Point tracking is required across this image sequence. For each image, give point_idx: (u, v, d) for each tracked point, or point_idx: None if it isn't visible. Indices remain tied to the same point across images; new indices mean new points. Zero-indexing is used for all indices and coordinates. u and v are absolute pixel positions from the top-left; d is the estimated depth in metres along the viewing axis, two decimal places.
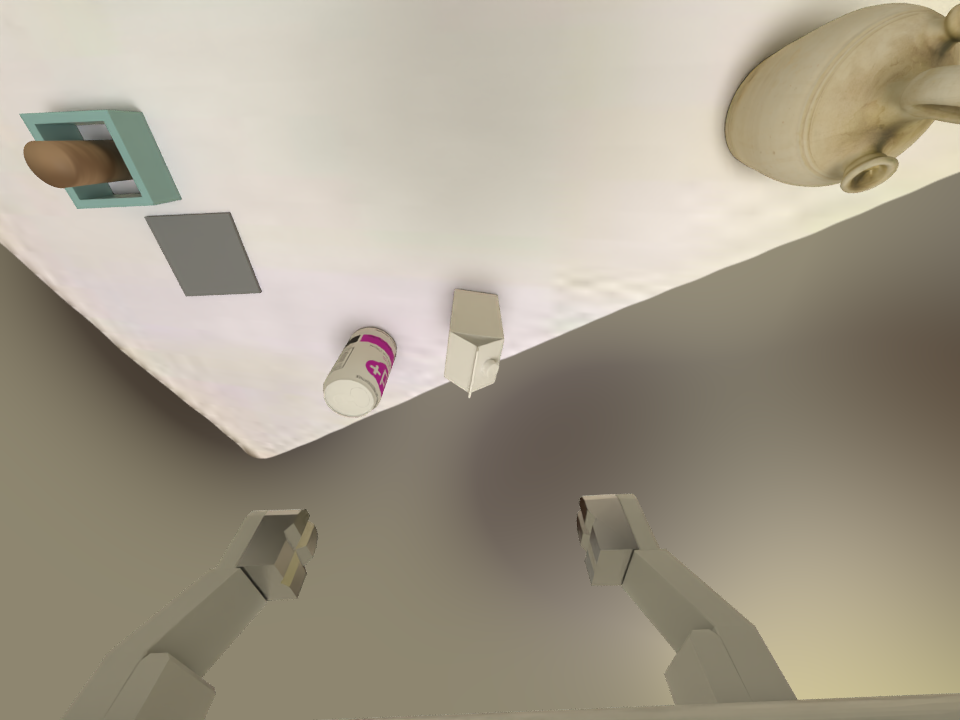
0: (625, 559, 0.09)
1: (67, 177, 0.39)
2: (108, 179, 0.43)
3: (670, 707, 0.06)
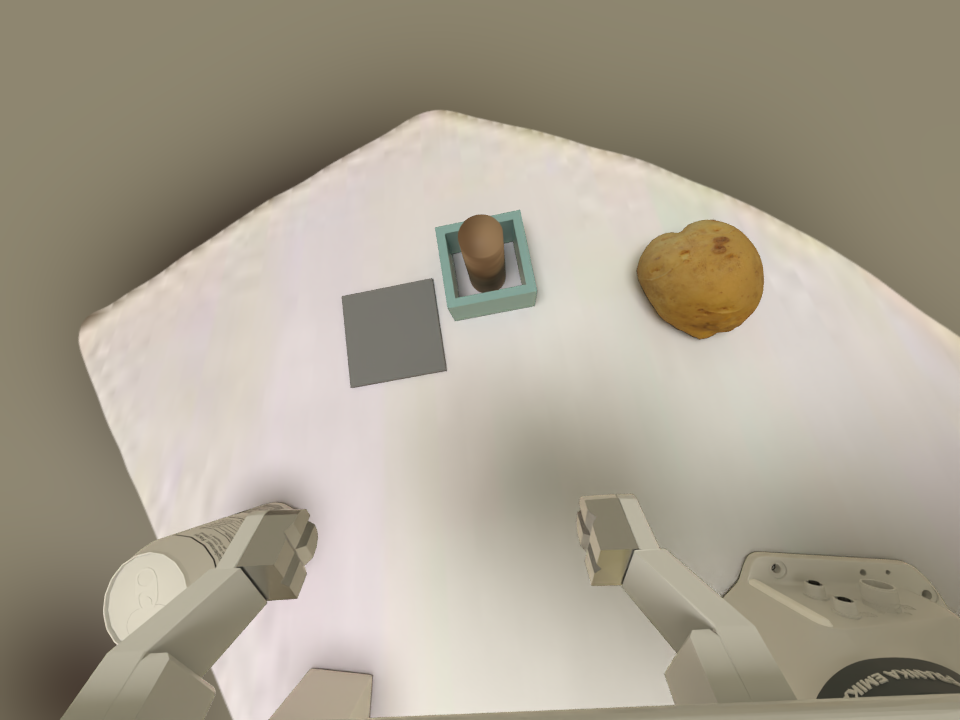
0: (625, 559, 0.09)
1: (469, 248, 0.34)
2: (469, 270, 0.39)
3: (670, 707, 0.06)
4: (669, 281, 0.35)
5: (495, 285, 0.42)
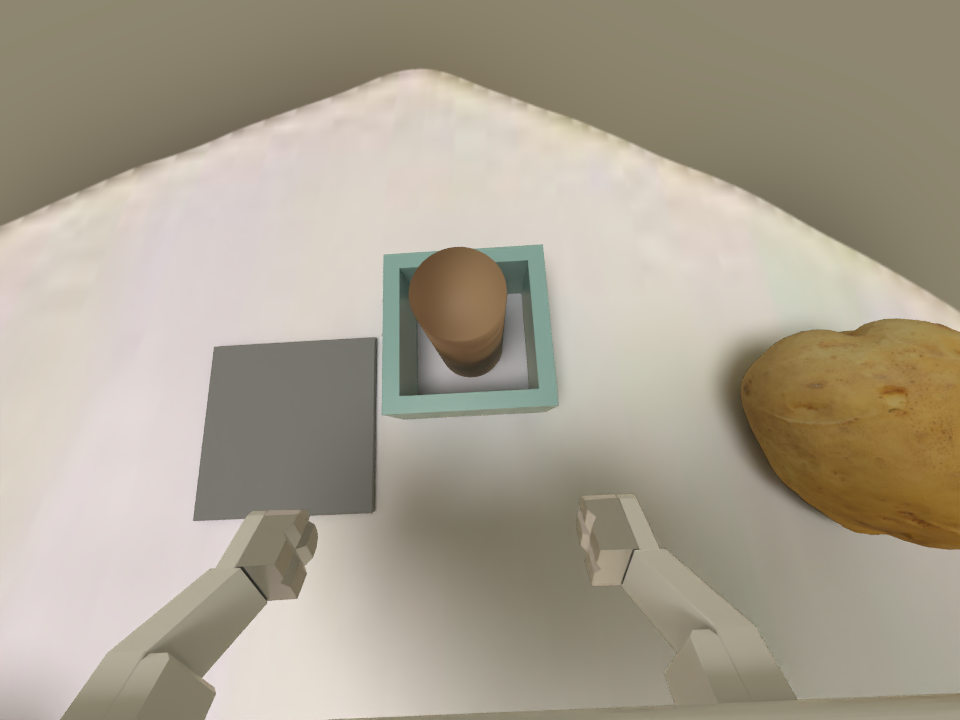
0: (625, 559, 0.09)
1: (431, 317, 0.16)
2: (434, 346, 0.20)
3: (670, 707, 0.06)
4: (842, 441, 0.16)
5: (481, 370, 0.23)
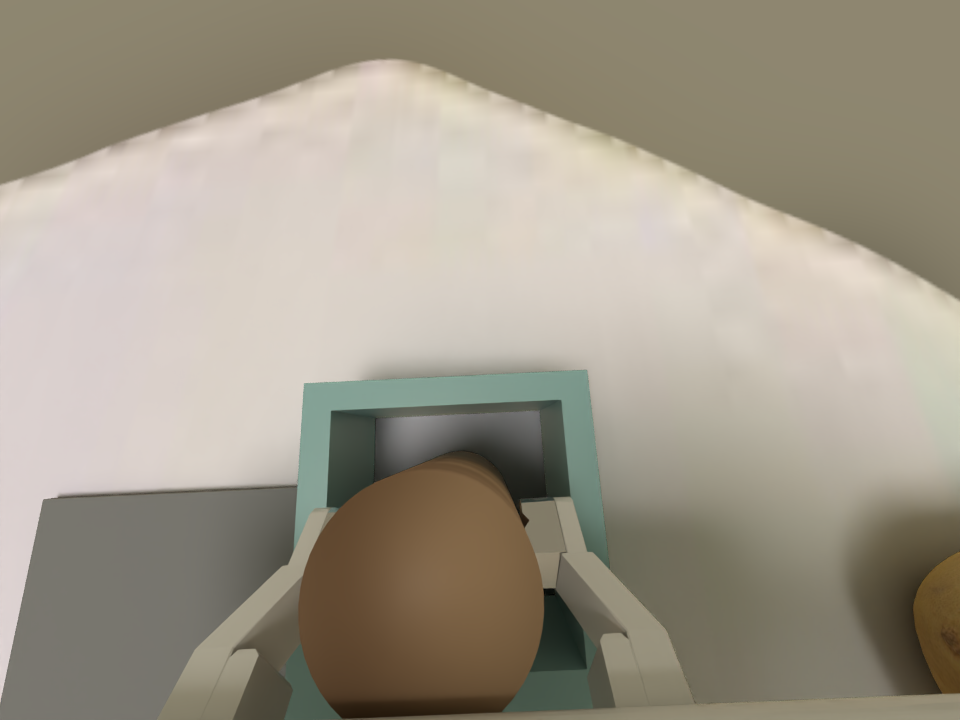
0: (554, 562, 0.09)
1: (351, 677, 0.06)
2: None
3: (670, 707, 0.06)
4: None
5: None
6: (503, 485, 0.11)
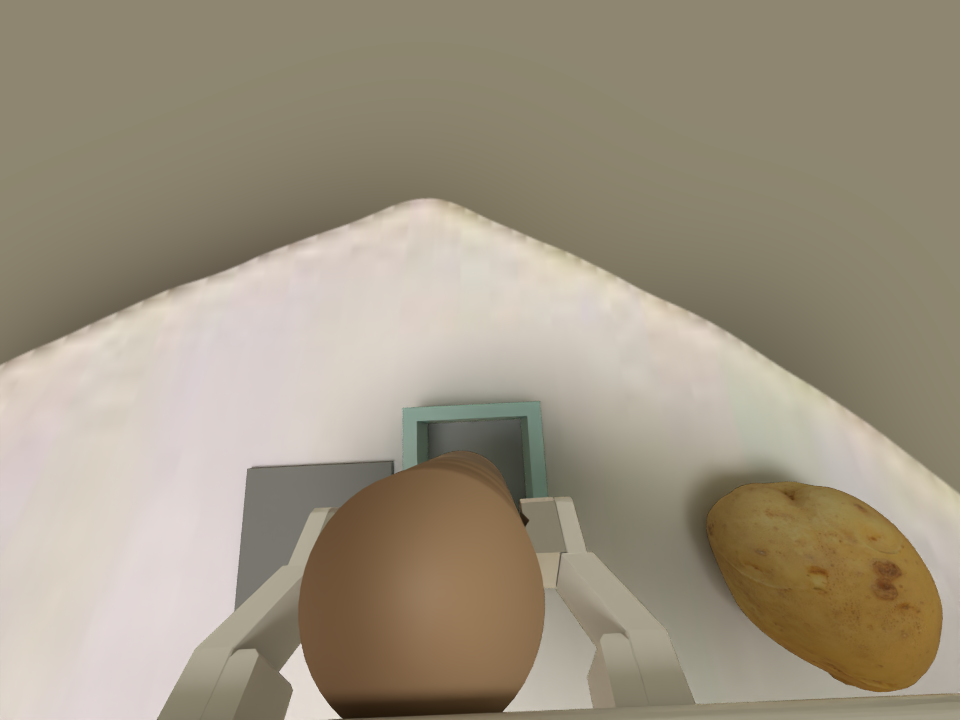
0: (554, 562, 0.09)
1: (351, 677, 0.06)
2: None
3: (670, 707, 0.06)
4: (780, 603, 0.20)
5: None
6: (503, 484, 0.11)
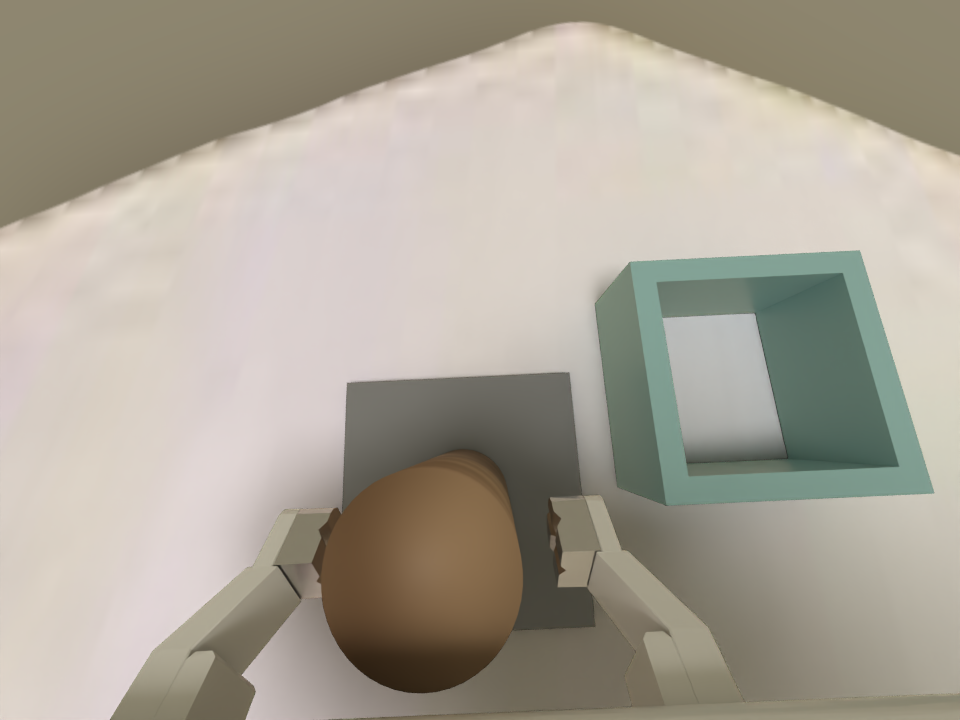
0: (588, 561, 0.09)
1: (364, 636, 0.08)
2: None
3: (670, 707, 0.06)
4: None
5: None
6: (498, 480, 0.12)
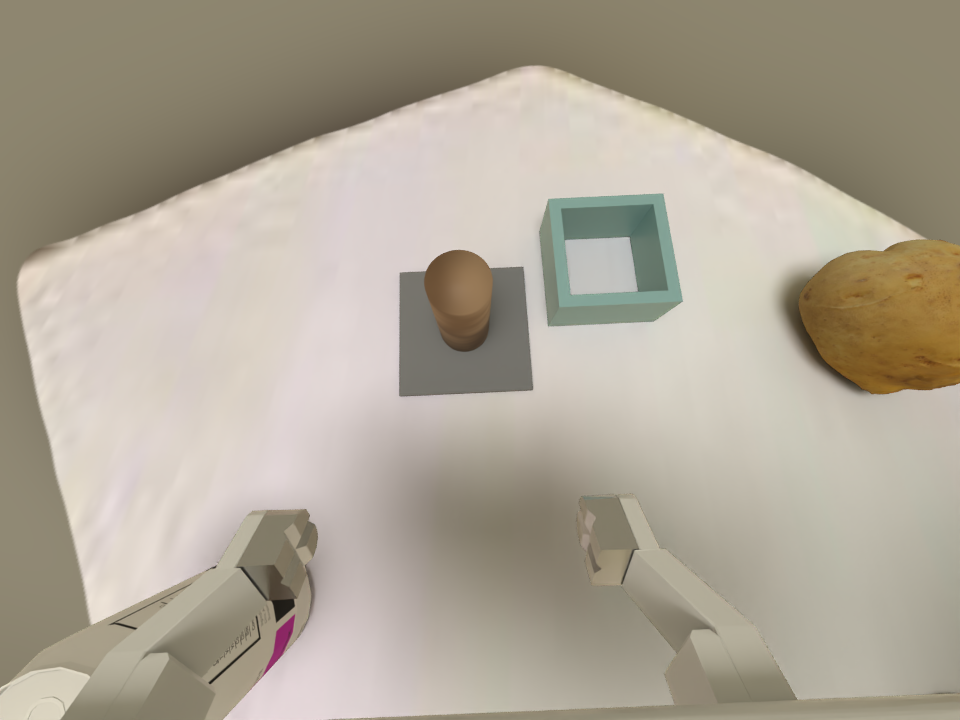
0: (625, 559, 0.09)
1: (439, 298, 0.23)
2: (438, 323, 0.27)
3: (670, 707, 0.06)
4: (880, 313, 0.25)
5: (472, 345, 0.30)
6: None
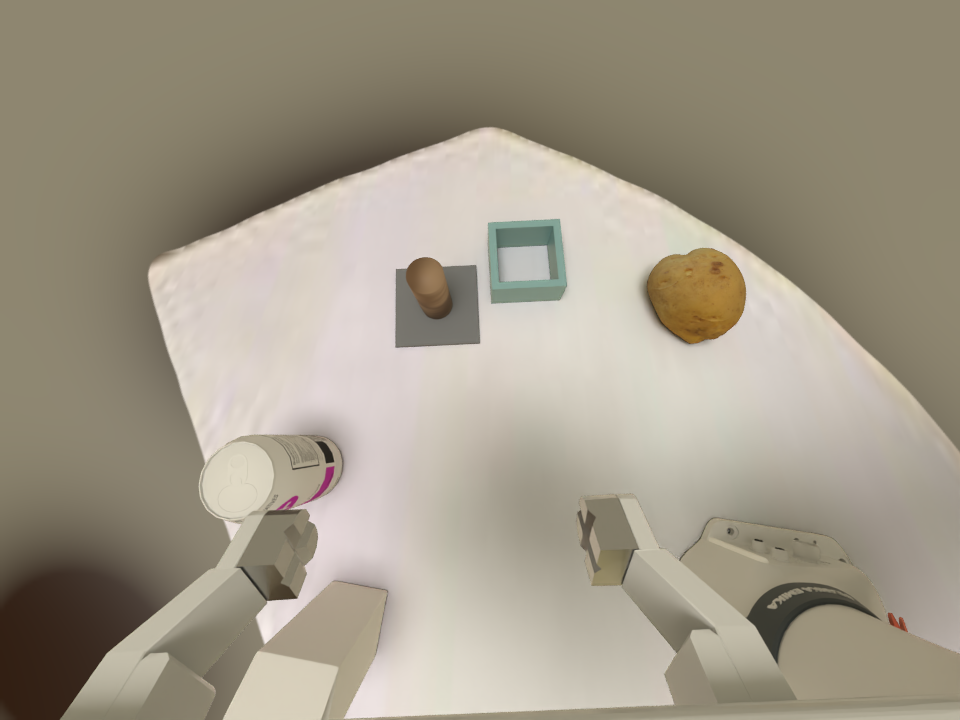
0: (625, 559, 0.09)
1: (414, 284, 0.41)
2: None
3: (670, 707, 0.06)
4: (673, 291, 0.44)
5: (439, 314, 0.49)
6: None
